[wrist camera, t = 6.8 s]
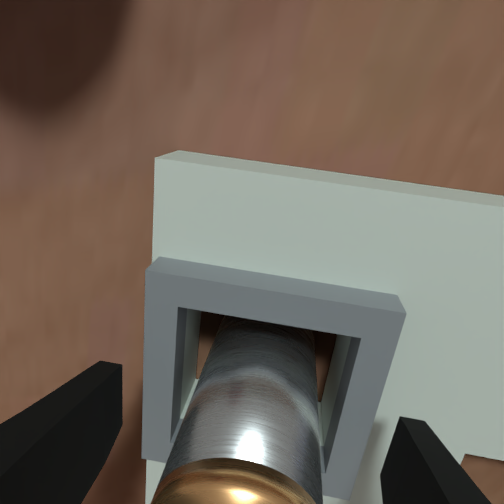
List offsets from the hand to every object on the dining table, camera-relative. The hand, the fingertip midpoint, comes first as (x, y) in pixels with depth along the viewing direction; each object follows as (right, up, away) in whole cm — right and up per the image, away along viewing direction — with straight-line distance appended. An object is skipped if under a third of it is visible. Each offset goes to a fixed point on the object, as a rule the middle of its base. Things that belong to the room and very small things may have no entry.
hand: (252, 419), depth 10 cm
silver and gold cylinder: (+1, +1, +4) cm, 4 cm away
